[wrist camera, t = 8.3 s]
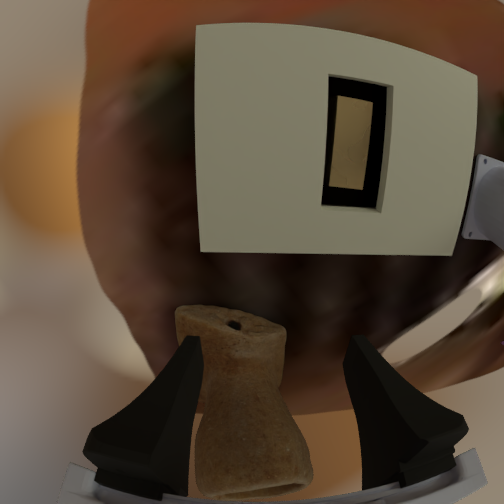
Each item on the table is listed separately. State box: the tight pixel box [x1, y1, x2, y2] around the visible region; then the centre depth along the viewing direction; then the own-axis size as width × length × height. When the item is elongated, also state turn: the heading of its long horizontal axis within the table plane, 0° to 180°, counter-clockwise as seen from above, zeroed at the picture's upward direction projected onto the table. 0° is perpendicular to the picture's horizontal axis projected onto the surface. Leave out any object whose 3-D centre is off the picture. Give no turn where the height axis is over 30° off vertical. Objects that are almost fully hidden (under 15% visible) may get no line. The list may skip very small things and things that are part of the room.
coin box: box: [195, 23, 477, 256], centre depth 15 cm, size 16×12×6 cm
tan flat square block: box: [323, 96, 373, 190], centre depth 16 cm, size 2×5×5 cm, turn 177°
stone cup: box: [175, 305, 313, 501], centre depth 21 cm, size 15×12×15 cm
